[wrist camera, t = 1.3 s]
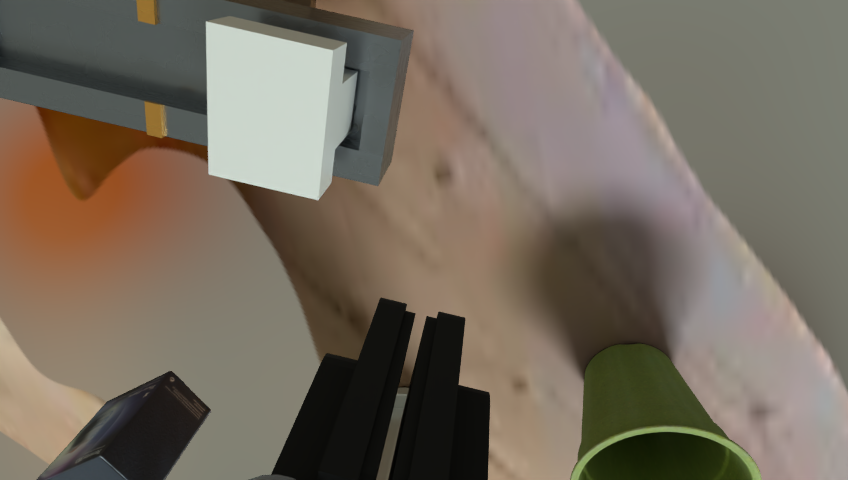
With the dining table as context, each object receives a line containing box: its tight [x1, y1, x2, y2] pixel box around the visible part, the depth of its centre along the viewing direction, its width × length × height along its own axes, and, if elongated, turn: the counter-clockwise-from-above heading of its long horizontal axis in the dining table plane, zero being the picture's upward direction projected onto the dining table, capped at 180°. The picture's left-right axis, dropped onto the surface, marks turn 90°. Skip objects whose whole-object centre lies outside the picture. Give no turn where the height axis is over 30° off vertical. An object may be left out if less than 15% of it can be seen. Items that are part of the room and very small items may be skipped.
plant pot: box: [570, 343, 762, 480], centre depth 39 cm, size 12×12×11 cm
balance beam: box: [0, 0, 414, 186], centre depth 29 cm, size 23×12×12 cm, turn 79°
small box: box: [37, 371, 211, 480], centre depth 49 cm, size 11×6×10 cm, turn 123°
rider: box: [206, 16, 358, 200], centre depth 23 cm, size 5×6×5 cm
